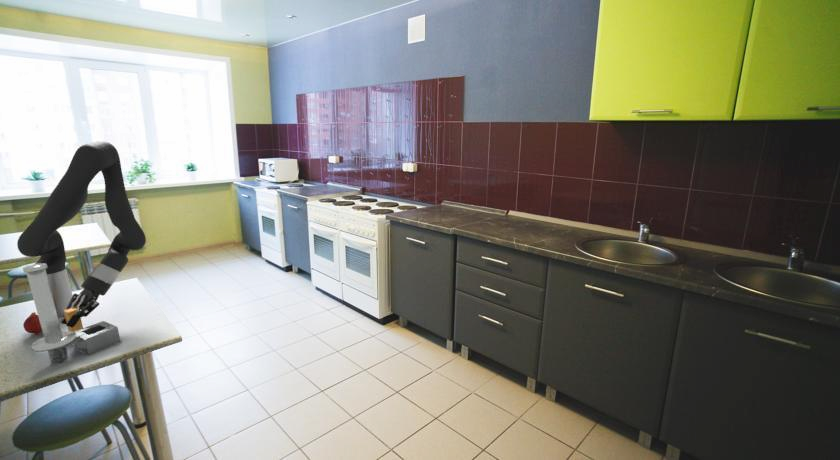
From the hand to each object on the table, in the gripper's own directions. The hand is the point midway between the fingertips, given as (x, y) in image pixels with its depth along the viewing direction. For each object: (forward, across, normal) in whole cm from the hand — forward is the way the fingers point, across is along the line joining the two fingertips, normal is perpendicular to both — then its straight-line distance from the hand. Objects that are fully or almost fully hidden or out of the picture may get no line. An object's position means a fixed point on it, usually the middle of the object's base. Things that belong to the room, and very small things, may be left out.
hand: (66, 325), depth 133 cm
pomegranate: (+6, -13, +1) cm, 14 cm away
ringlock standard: (+6, +14, +1) cm, 15 cm away
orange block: (+2, 0, +4) cm, 5 cm away
